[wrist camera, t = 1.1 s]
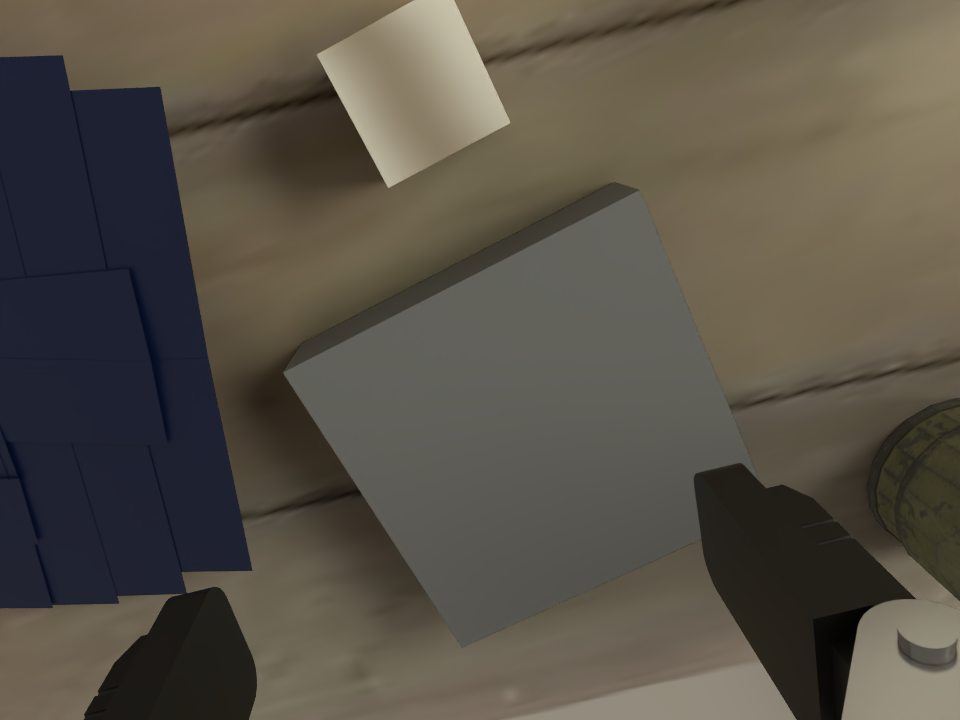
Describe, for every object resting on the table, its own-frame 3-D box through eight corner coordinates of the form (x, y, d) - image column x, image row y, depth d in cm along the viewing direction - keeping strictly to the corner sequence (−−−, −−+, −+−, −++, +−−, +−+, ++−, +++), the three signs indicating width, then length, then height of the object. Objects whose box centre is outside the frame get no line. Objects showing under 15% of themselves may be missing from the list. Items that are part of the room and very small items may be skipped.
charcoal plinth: (614, 182, 30) (639, 190, 26) (734, 466, 35) (770, 507, 31) (301, 343, 32) (282, 372, 28) (459, 594, 37) (461, 647, 33)
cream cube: (444, 7, 28) (445, -18, 23) (498, 123, 29) (510, 122, 25) (336, 66, 28) (316, 54, 23) (395, 178, 30) (388, 188, 25)
